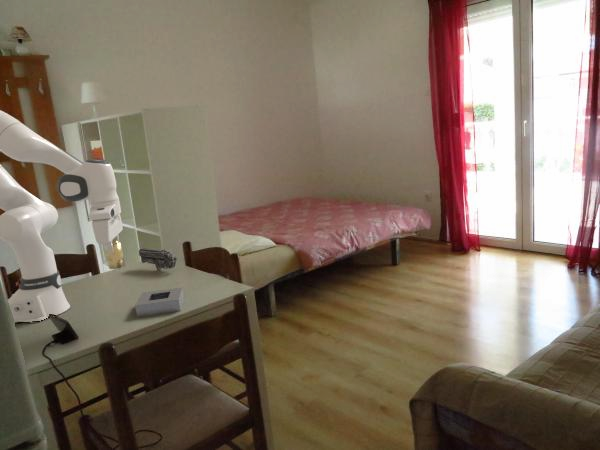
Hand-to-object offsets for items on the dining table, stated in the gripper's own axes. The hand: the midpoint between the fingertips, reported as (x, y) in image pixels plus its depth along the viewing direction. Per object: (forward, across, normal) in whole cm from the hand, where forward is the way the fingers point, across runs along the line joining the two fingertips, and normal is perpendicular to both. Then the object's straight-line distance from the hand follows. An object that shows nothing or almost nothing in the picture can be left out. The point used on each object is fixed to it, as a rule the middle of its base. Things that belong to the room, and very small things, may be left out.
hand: (113, 250), depth 156 cm
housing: (+23, 0, +12) cm, 26 cm away
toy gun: (+23, -49, +4) cm, 55 cm away
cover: (+6, 0, 0) cm, 6 cm away
